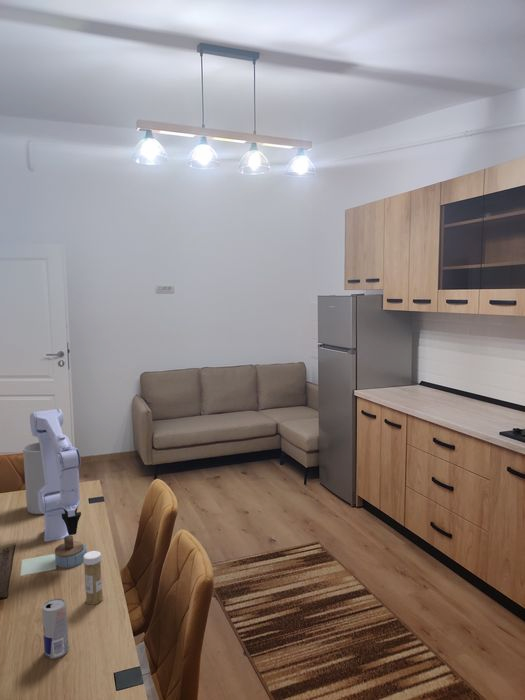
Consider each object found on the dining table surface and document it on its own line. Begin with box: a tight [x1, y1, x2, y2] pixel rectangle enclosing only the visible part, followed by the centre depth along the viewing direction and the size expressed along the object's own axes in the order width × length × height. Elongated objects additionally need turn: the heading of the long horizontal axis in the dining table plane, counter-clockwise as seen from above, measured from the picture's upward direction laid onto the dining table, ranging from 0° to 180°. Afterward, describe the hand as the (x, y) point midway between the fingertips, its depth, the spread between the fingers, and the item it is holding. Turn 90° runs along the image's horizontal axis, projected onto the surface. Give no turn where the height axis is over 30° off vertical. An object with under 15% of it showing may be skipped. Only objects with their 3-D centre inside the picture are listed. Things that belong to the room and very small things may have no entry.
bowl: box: [54, 543, 88, 569], centre depth 166 cm, size 9×9×4 cm
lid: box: [54, 535, 84, 557], centre depth 165 cm, size 8×8×4 cm
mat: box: [20, 553, 57, 577], centre depth 164 cm, size 10×10×1 cm
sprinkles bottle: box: [83, 550, 104, 605], centre depth 144 cm, size 5×5×14 cm
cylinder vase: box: [22, 441, 60, 515], centre depth 204 cm, size 12×12×25 cm
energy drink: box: [41, 598, 70, 660], centre depth 124 cm, size 5×5×12 cm
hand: (72, 529), depth 166 cm, fingers open, 7 cm apart
